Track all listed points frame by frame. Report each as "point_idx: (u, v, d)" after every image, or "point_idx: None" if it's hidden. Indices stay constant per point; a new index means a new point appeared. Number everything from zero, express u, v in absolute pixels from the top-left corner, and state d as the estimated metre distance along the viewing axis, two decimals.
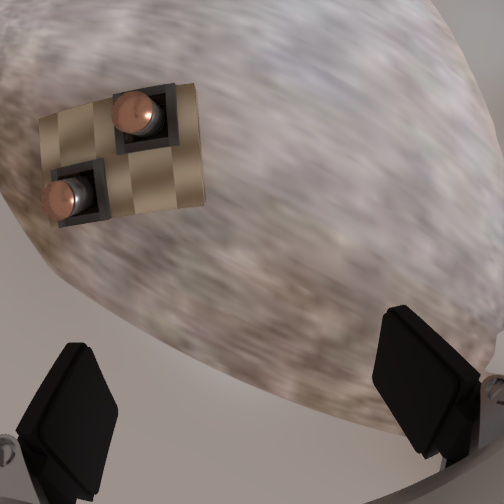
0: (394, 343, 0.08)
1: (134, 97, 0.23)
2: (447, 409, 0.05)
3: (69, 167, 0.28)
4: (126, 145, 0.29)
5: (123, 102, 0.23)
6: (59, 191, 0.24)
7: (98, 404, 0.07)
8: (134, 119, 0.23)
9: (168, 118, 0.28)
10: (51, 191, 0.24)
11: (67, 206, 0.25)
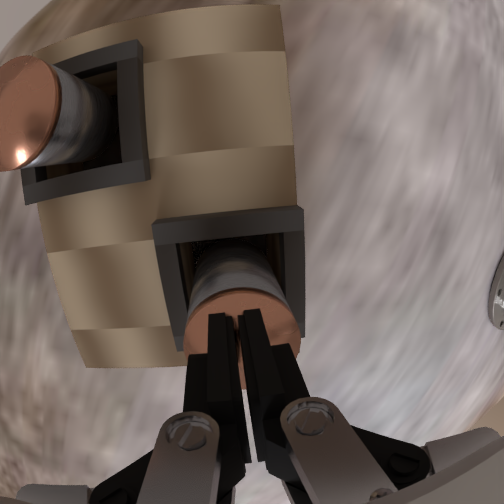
0: None
1: None
2: (257, 421, 0.06)
3: (133, 93, 0.11)
4: (172, 249, 0.14)
5: (272, 326, 0.10)
6: (25, 120, 0.07)
7: None
8: None
9: None
10: (31, 88, 0.06)
11: None
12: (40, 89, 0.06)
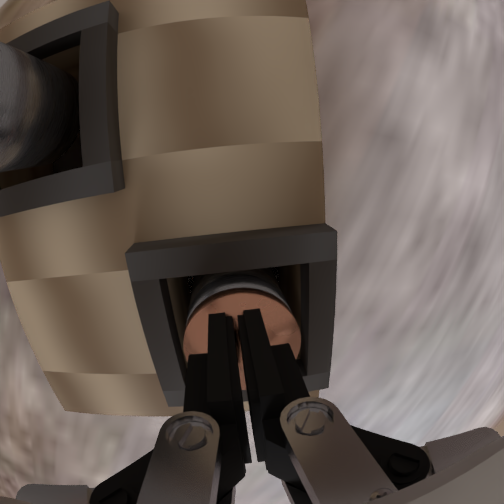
0: None
1: None
2: (257, 421, 0.06)
3: (99, 69, 0.07)
4: (155, 286, 0.10)
5: (273, 327, 0.10)
6: None
7: None
8: None
9: None
10: None
11: None
12: None
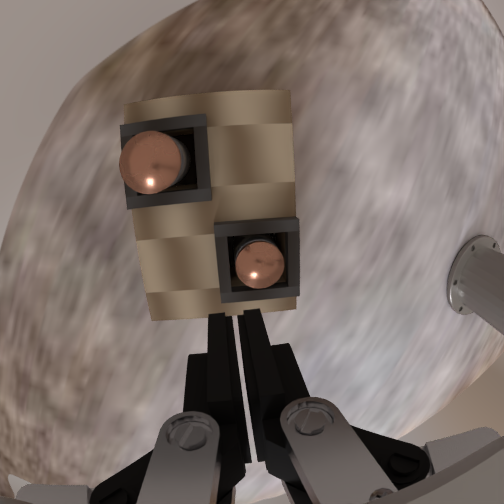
0: None
1: (276, 268, 0.25)
2: (257, 421, 0.06)
3: (204, 148, 0.22)
4: (225, 239, 0.24)
5: (272, 256, 0.24)
6: (162, 169, 0.17)
7: None
8: (250, 269, 0.25)
9: (255, 291, 0.26)
10: (164, 152, 0.17)
11: (139, 182, 0.18)
12: (171, 154, 0.17)
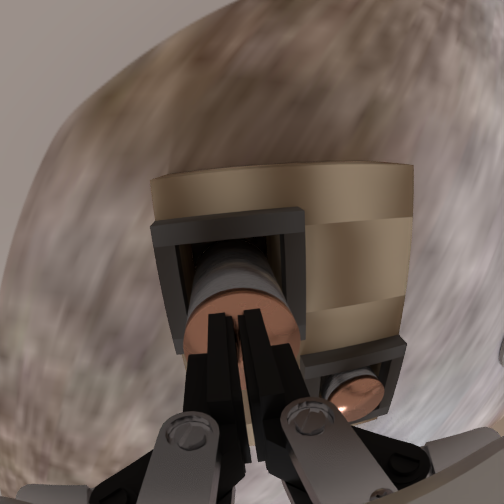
0: (241, 345, 0.09)
1: (374, 401, 0.17)
2: (257, 421, 0.06)
3: (301, 269, 0.14)
4: (317, 380, 0.17)
5: (373, 391, 0.17)
6: None
7: None
8: (345, 408, 0.17)
9: None
10: (273, 332, 0.10)
11: None
12: (285, 335, 0.10)
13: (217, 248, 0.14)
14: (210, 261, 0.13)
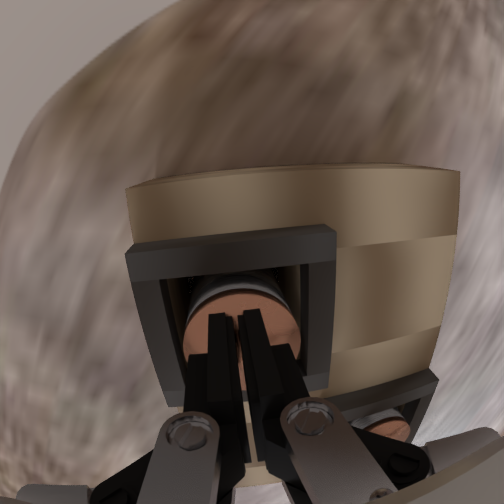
0: None
1: None
2: (257, 421, 0.06)
3: (328, 308, 0.11)
4: None
5: (398, 433, 0.13)
6: None
7: None
8: None
9: None
10: (273, 333, 0.10)
11: None
12: (285, 335, 0.10)
13: None
14: None
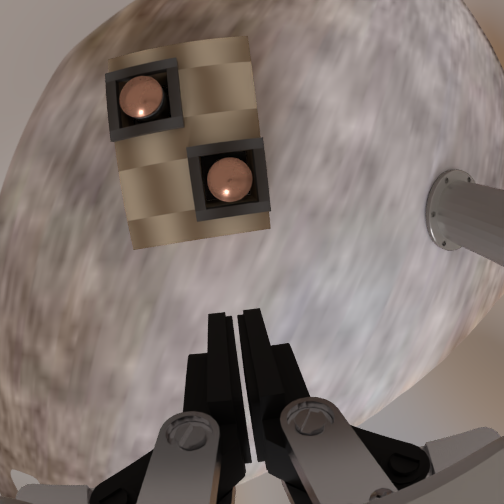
0: None
1: (245, 181, 0.26)
2: (257, 421, 0.06)
3: (176, 84, 0.23)
4: (197, 159, 0.26)
5: (240, 170, 0.26)
6: (149, 99, 0.23)
7: None
8: (221, 183, 0.26)
9: (228, 208, 0.28)
10: (151, 88, 0.23)
11: (133, 110, 0.23)
12: (155, 89, 0.23)
13: None
14: None
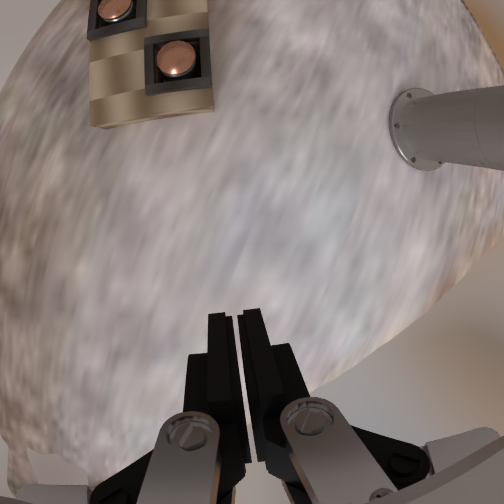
0: None
1: (188, 58, 0.25)
2: (257, 421, 0.06)
3: None
4: (151, 45, 0.25)
5: (185, 49, 0.25)
6: (120, 6, 0.22)
7: None
8: (168, 60, 0.25)
9: (173, 82, 0.26)
10: None
11: (107, 14, 0.22)
12: None
13: None
14: None
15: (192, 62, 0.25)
